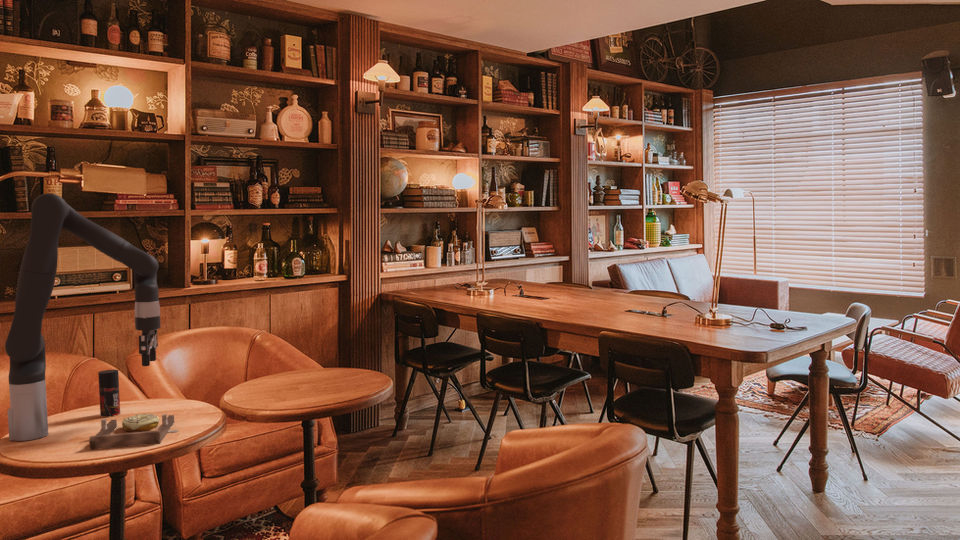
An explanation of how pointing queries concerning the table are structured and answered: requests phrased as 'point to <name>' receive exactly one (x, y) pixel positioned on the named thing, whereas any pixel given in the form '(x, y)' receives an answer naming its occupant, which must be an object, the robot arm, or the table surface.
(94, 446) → the u-shaped frame
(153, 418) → the decorated donut
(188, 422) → the table surface
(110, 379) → the deodorant
